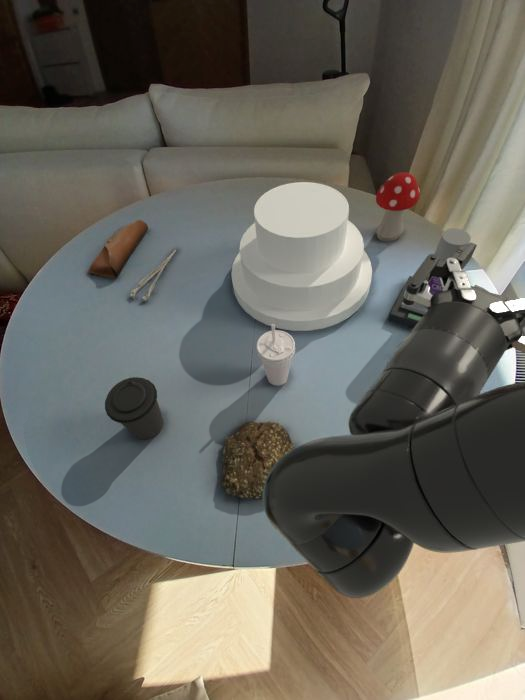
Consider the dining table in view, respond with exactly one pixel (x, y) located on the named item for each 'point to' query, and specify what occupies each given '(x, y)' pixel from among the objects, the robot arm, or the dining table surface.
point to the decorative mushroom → (396, 204)
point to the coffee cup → (135, 407)
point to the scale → (407, 311)
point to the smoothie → (276, 354)
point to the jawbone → (149, 276)
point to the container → (448, 252)
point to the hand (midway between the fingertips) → (510, 265)
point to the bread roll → (253, 457)
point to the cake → (301, 259)
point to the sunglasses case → (118, 250)
